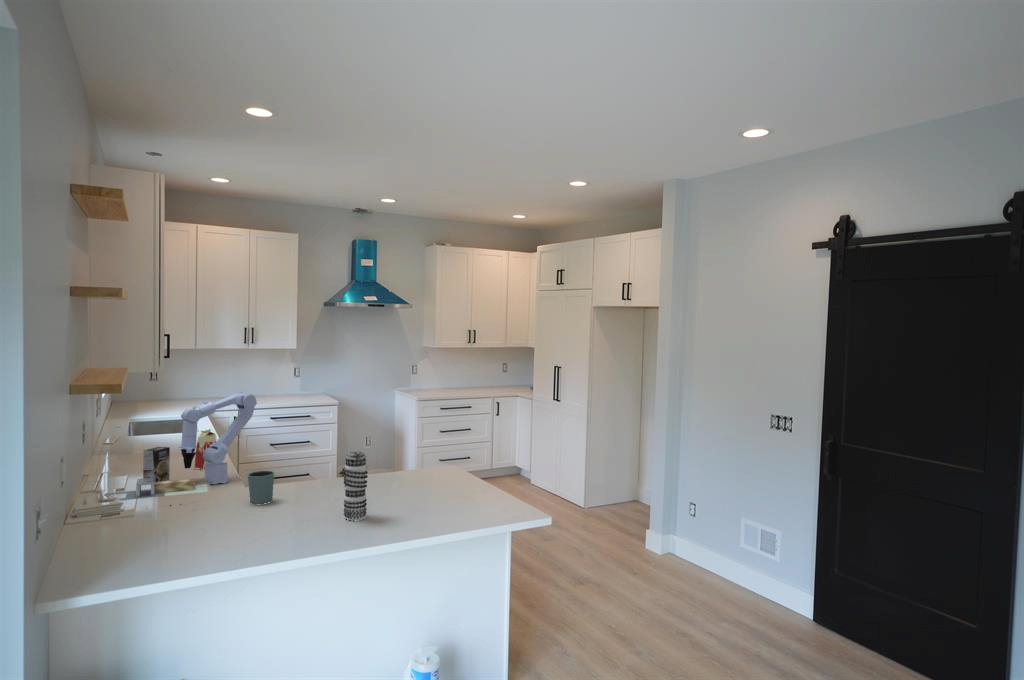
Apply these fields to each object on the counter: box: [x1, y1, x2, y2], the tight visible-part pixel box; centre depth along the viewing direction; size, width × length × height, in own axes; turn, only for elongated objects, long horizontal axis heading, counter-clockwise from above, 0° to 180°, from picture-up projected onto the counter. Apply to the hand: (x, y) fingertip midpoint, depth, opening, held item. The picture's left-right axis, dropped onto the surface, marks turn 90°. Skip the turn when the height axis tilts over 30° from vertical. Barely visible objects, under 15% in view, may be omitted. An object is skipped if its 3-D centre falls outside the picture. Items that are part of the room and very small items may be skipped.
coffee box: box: [142, 446, 171, 482], centre depth 276 cm, size 9×6×16 cm
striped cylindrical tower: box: [343, 451, 369, 522], centre depth 234 cm, size 9×9×25 cm
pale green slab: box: [103, 483, 209, 501], centre depth 258 cm, size 38×14×2 cm, turn 118°
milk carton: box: [193, 428, 217, 470], centre depth 307 cm, size 9×9×20 cm
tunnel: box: [135, 477, 155, 497], centre depth 256 cm, size 6×9×6 cm
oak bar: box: [154, 478, 196, 494], centre depth 261 cm, size 15×4×4 cm, turn 118°
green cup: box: [247, 470, 275, 505], centre depth 251 cm, size 10×10×12 cm
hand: (187, 466), depth 271 cm, fingers open, 7 cm apart
